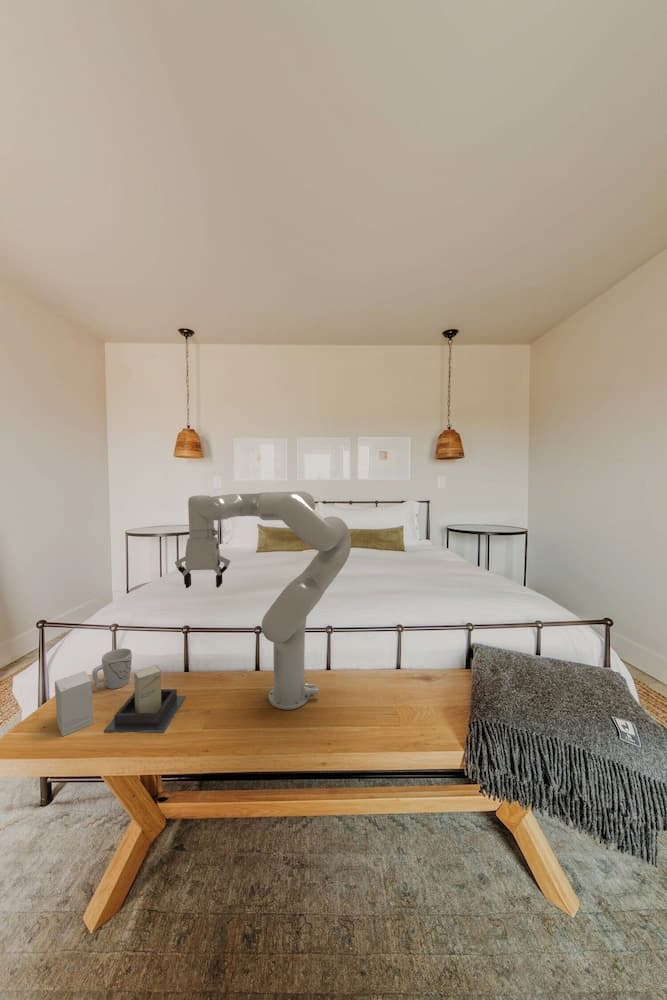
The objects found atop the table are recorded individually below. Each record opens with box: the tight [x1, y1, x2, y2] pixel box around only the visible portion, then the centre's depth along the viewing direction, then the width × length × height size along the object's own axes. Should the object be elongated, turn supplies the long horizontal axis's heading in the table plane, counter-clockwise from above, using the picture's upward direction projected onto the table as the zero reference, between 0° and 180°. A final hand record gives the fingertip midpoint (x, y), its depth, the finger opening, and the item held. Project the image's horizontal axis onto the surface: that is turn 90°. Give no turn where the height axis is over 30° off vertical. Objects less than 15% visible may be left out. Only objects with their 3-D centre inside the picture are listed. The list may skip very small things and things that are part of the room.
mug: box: [91, 648, 133, 690], centre depth 120 cm, size 11×8×10 cm
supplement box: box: [54, 671, 94, 737], centre depth 102 cm, size 7×7×13 cm
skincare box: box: [133, 665, 162, 713], centre depth 106 cm, size 6×4×12 cm
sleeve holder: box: [103, 688, 186, 734], centre depth 106 cm, size 16×15×4 cm
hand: (203, 586), depth 119 cm, fingers open, 9 cm apart
